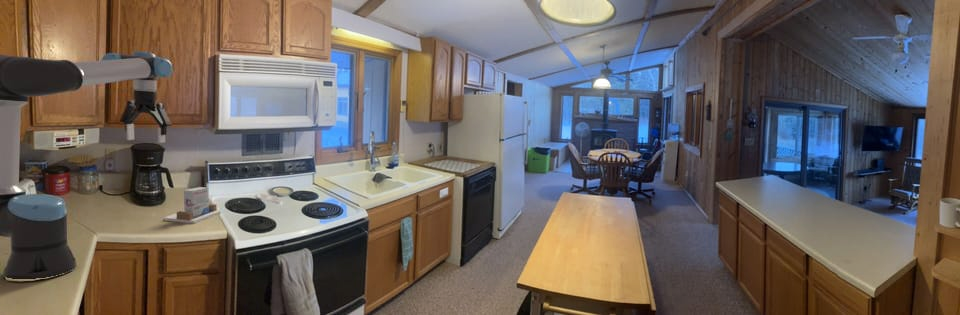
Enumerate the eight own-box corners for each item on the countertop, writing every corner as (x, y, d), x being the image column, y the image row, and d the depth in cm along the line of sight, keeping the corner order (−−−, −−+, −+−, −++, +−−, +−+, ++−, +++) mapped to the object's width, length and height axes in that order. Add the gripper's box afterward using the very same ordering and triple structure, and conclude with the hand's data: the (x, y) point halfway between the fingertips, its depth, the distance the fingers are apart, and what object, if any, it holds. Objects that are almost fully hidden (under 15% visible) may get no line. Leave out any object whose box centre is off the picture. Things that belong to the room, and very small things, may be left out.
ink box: (200, 210, 193) (200, 186, 191) (209, 212, 192) (209, 187, 190) (183, 215, 185) (183, 189, 183) (193, 217, 184) (192, 191, 182)
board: (194, 223, 180) (194, 214, 179) (163, 220, 180) (163, 211, 180) (220, 213, 197) (220, 204, 196) (192, 210, 197) (192, 201, 197)
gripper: (181, 93, 174) (181, 143, 177) (124, 88, 175) (125, 137, 178) (167, 92, 167) (167, 144, 169) (107, 87, 168) (109, 139, 170)
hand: (146, 141), depth 174 cm, fingers open, 13 cm apart
